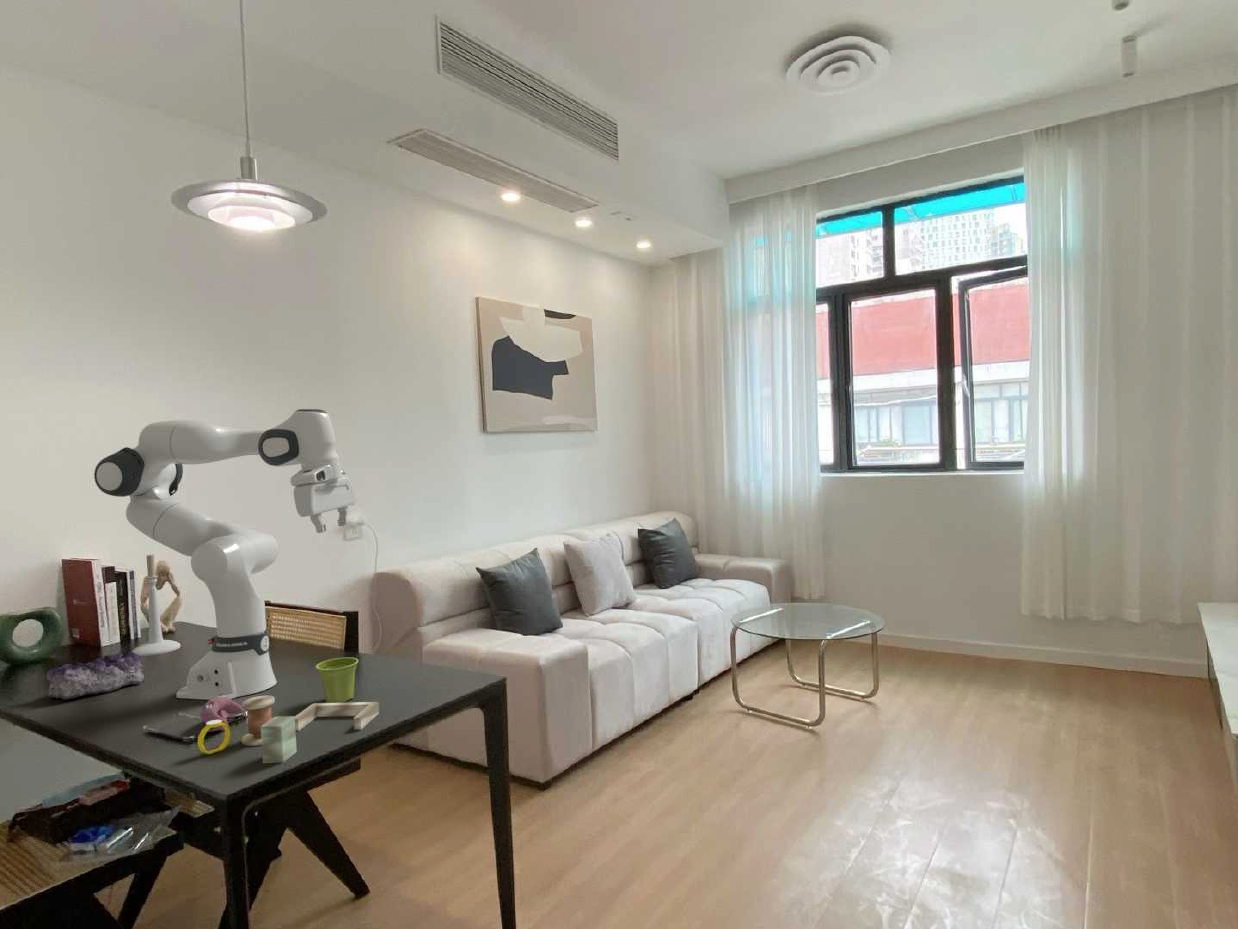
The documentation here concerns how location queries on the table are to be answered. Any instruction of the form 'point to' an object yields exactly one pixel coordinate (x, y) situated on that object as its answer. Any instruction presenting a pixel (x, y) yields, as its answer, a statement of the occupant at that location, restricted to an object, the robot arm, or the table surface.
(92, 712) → the table surface
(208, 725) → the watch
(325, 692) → the plant pot
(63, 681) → the geode
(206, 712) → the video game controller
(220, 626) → the robot arm
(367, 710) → the beige u-shaped bracket
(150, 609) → the candlestick
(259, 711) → the bobbin
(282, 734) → the block
